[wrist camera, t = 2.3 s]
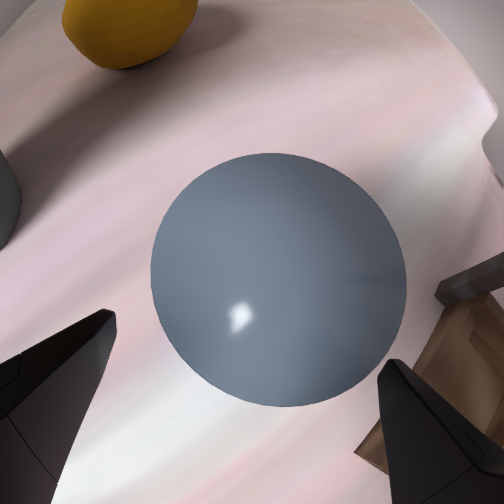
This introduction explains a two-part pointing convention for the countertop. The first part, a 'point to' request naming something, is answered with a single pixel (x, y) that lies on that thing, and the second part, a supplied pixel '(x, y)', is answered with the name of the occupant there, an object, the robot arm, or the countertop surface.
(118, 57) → the apple
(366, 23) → the countertop surface
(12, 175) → the bottle
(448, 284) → the shelf bay
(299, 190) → the blue-grey tall cylinder
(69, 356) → the robot arm
